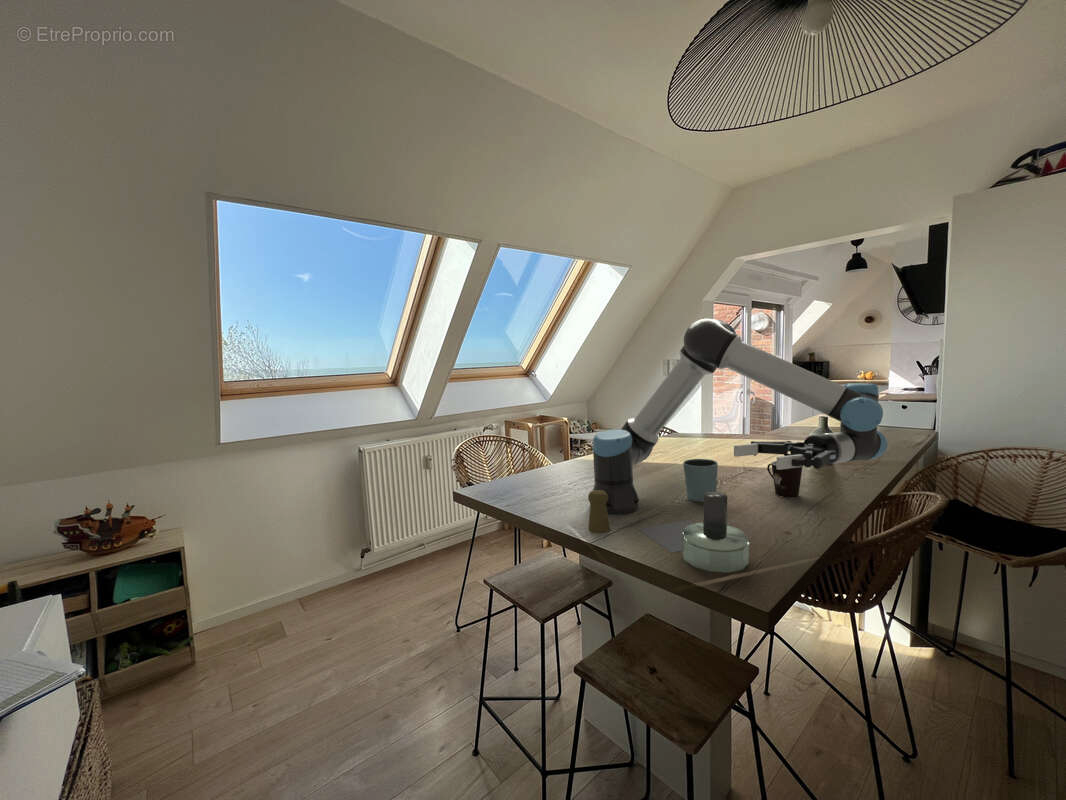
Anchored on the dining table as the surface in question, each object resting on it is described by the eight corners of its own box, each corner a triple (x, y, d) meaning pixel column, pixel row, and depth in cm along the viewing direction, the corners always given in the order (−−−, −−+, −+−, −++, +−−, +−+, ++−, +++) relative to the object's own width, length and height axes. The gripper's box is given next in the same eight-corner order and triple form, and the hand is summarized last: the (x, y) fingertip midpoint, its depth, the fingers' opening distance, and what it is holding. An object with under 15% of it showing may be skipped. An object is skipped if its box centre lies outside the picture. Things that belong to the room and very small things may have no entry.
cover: (671, 551, 104) (671, 489, 103) (719, 542, 108) (720, 482, 106) (708, 579, 92) (709, 510, 90) (761, 568, 96) (763, 501, 94)
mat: (636, 531, 119) (636, 528, 119) (688, 522, 124) (688, 519, 124) (671, 555, 104) (671, 552, 104) (729, 543, 108) (729, 541, 108)
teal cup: (725, 502, 138) (724, 463, 137) (696, 506, 136) (695, 467, 135) (705, 493, 148) (704, 457, 147) (677, 496, 146) (676, 460, 145)
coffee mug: (807, 499, 137) (807, 466, 136) (776, 498, 139) (776, 467, 138) (793, 488, 148) (793, 458, 148) (765, 487, 150) (764, 458, 149)
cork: (585, 527, 123) (584, 488, 122) (607, 526, 124) (606, 487, 123) (590, 536, 117) (588, 495, 116) (613, 534, 118) (611, 493, 117)
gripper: (876, 476, 99) (798, 486, 94) (786, 453, 123) (719, 461, 118) (878, 442, 98) (799, 451, 93) (786, 426, 122) (719, 432, 117)
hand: (754, 456), depth 105 cm, fingers open, 13 cm apart
